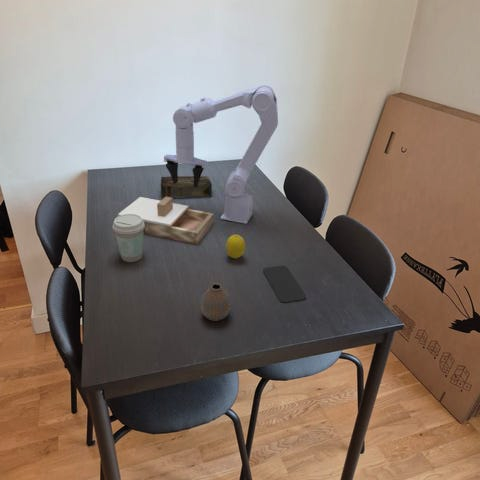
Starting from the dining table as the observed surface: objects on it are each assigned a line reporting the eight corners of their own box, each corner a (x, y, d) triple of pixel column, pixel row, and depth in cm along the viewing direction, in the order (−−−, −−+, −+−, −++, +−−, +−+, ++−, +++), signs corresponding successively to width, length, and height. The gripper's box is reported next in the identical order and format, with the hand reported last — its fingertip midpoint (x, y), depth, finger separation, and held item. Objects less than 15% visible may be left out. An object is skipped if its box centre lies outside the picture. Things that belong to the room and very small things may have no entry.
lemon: (240, 251, 117) (241, 228, 113) (247, 261, 113) (248, 238, 109) (222, 254, 115) (223, 231, 111) (229, 264, 111) (230, 241, 107)
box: (213, 224, 131) (213, 213, 129) (197, 244, 120) (197, 233, 117) (164, 214, 135) (164, 204, 133) (144, 233, 124) (143, 222, 121)
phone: (281, 302, 98) (261, 268, 110) (280, 305, 98) (261, 270, 110) (307, 298, 100) (285, 265, 112) (307, 300, 100) (285, 267, 112)
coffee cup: (111, 254, 112) (106, 218, 106) (138, 245, 117) (135, 210, 111) (124, 268, 107) (120, 230, 101) (152, 258, 112) (149, 222, 106)
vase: (195, 317, 92) (194, 288, 87) (212, 302, 97) (213, 273, 92) (218, 329, 89) (219, 300, 84) (235, 313, 94) (237, 284, 89)
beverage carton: (212, 197, 149) (212, 182, 146) (161, 200, 145) (160, 183, 142) (209, 189, 156) (209, 173, 152) (160, 191, 152) (159, 175, 149)
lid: (188, 208, 131) (188, 195, 128) (170, 226, 119) (169, 213, 117) (140, 198, 135) (139, 186, 132) (118, 216, 123) (116, 202, 121)
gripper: (210, 144, 127) (209, 183, 134) (169, 138, 130) (171, 176, 137) (202, 151, 121) (202, 191, 128) (160, 144, 125) (162, 184, 132)
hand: (185, 184), depth 133 cm, fingers open, 7 cm apart
